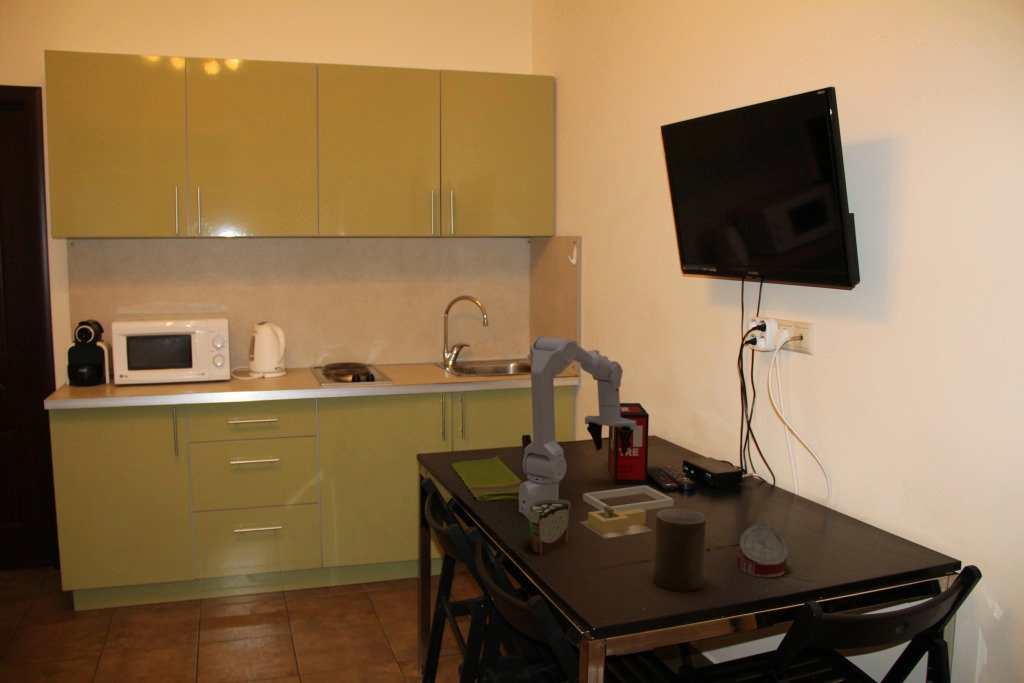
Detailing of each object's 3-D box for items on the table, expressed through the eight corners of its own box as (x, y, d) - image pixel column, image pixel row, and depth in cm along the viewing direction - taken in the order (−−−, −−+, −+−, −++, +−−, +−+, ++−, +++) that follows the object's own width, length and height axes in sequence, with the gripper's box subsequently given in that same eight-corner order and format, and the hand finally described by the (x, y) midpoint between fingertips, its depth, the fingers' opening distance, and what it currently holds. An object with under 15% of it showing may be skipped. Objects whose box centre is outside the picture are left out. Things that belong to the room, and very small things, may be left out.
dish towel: (477, 504, 215) (477, 492, 215) (450, 468, 250) (450, 457, 249) (534, 500, 220) (534, 488, 219) (499, 464, 254) (500, 454, 253)
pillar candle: (679, 596, 160) (683, 520, 158) (643, 579, 167) (646, 506, 166) (713, 585, 165) (717, 511, 164) (676, 568, 173) (680, 499, 171)
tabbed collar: (602, 534, 191) (603, 521, 190) (587, 524, 197) (588, 512, 197) (650, 526, 196) (651, 514, 196) (634, 517, 202) (635, 505, 202)
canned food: (781, 587, 176) (807, 551, 172) (760, 597, 168) (787, 560, 165) (740, 550, 182) (763, 515, 179) (718, 558, 175) (742, 522, 171)
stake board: (604, 541, 188) (605, 518, 187) (579, 525, 199) (579, 502, 198) (653, 533, 193) (653, 511, 193) (625, 518, 204) (626, 496, 204)
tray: (608, 518, 204) (608, 508, 204) (582, 502, 216) (583, 493, 215) (673, 508, 212) (673, 499, 211) (645, 494, 223) (645, 485, 223)
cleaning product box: (608, 468, 248) (609, 402, 246) (637, 469, 248) (639, 403, 246) (615, 485, 232) (616, 414, 229) (647, 485, 232) (648, 414, 229)
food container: (548, 537, 191) (549, 495, 190) (570, 543, 187) (571, 500, 186) (514, 552, 181) (514, 508, 180) (536, 559, 177) (537, 514, 176)
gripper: (640, 401, 224) (642, 449, 227) (591, 397, 232) (594, 443, 235) (629, 409, 219) (631, 458, 222) (580, 404, 226) (583, 451, 229)
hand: (611, 451), depth 228 cm, fingers open, 7 cm apart
